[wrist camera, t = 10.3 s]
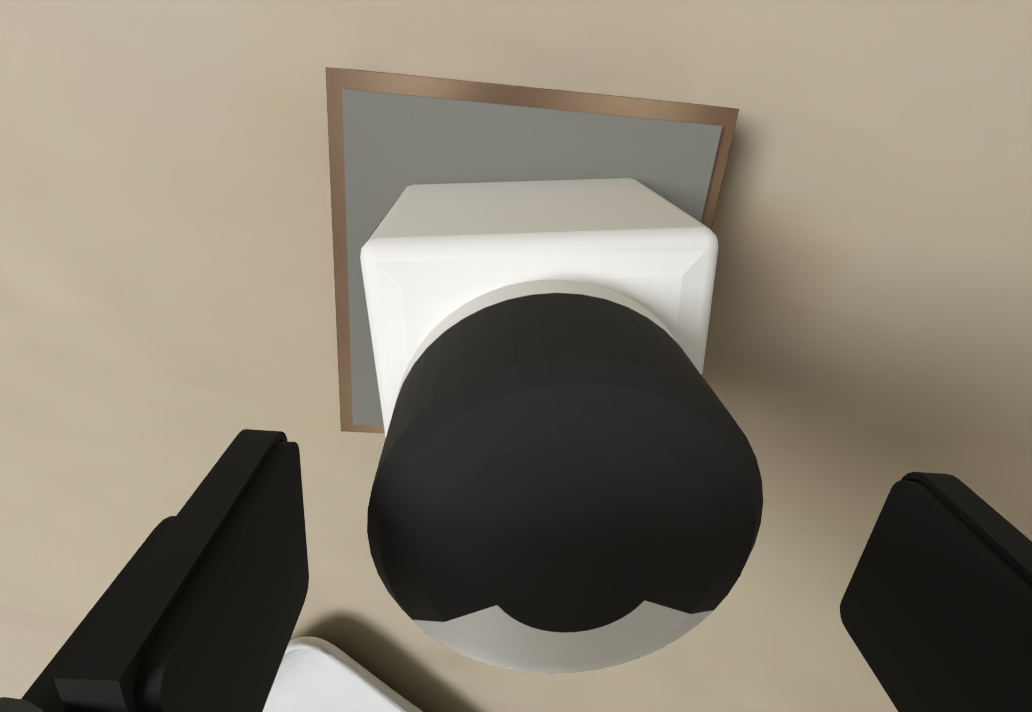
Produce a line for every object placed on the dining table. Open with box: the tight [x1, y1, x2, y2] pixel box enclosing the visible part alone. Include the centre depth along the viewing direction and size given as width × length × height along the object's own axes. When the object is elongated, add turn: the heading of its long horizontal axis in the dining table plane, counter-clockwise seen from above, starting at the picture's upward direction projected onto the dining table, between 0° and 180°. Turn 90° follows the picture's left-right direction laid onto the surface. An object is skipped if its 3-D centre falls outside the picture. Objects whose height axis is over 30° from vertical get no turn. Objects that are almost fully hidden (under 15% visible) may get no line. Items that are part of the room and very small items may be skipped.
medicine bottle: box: [360, 178, 763, 674], centre depth 14 cm, size 7×7×12 cm
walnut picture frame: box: [326, 67, 739, 433], centre depth 21 cm, size 12×12×4 cm
